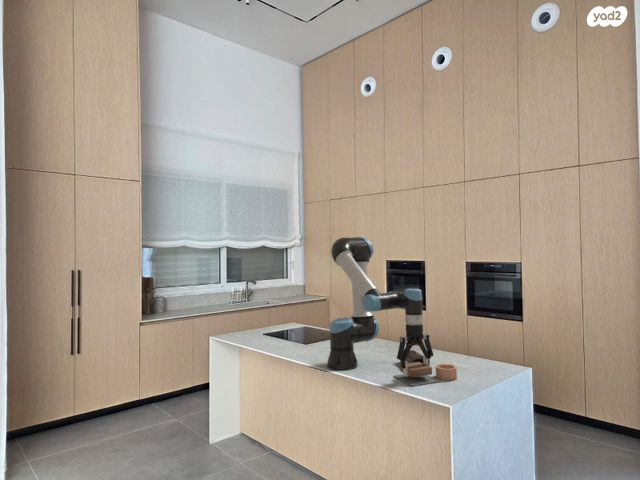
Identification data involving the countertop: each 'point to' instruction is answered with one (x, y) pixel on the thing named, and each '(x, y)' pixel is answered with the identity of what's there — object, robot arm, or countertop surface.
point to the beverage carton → (414, 357)
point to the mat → (416, 380)
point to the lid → (417, 369)
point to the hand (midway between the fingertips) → (415, 374)
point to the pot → (446, 372)
